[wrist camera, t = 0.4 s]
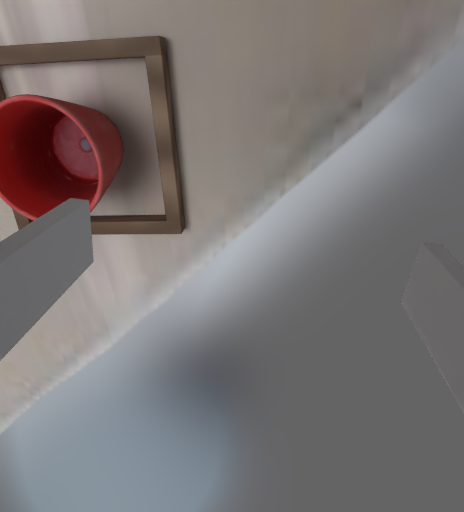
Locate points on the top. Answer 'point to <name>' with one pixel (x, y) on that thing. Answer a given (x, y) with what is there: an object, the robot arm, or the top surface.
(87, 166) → the flower pot
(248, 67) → the top surface
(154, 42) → the holder frame
